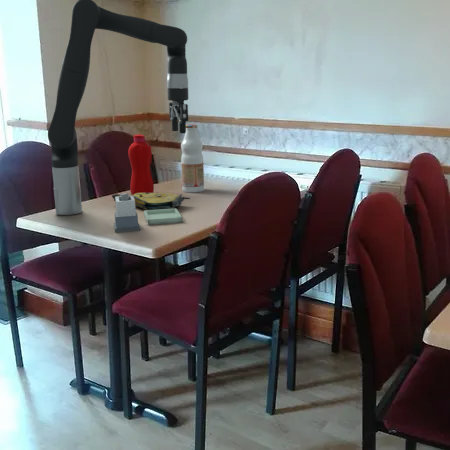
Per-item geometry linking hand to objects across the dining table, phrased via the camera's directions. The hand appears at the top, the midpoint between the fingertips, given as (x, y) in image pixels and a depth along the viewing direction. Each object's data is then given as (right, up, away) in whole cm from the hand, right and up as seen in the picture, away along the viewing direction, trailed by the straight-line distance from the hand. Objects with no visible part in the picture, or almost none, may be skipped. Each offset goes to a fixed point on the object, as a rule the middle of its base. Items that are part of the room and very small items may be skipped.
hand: (178, 132), depth 210 cm
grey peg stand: (-15, -35, -22) cm, 44 cm away
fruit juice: (+3, -20, +36) cm, 41 cm away
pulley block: (-12, -27, +7) cm, 31 cm away
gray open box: (-15, -30, -23) cm, 41 cm away
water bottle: (-17, -21, +30) cm, 41 cm away
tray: (-5, -32, -11) cm, 34 cm away
